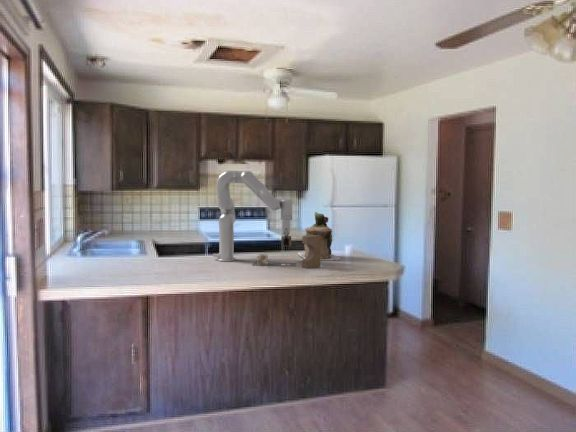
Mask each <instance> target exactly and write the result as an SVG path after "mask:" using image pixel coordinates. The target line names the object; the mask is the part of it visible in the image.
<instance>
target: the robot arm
mask: <svg viewBox="0 0 576 432" xmlns="http://www.w3.org/2000/svg"><path fill="white" fill-rule="evenodd" d="M230 184H244V185H245V186H246V188H248V189H250V191H251V192H252V193H253V194H254V195H255V196H256V197H257V198H259V200H261V202H263V204H264V205H266V207H268V209H270V210H271V211H275V212H276V211H278V210H280V220H281V221H282V222H281V235H282V236H284V245H289V239H288V236H289V235H290V232H291V221H293V200H292V199H290V198H276V197H275V196H274V195H273V194H272V193H271V192H270V191H269V190H268V189H267V187H266V185H265V184H264V183H263V182H261V180H259V178H257V177H256V176H255V175H254V173H253V172H252V171H251V170H226V171H224V172H222V173H221V174H220V175H219V176H218V178H217V180H216V194H217V207H218V208H219V210H220V216H219V219H218V231H219V232H218V235H219V241H218V242H219V245H218V246H219V247H218V248H219V250H218V251H219V252H218V253H212V257H213V258H216V260H217V261H219V262H233V261H236V260H237V257H235V256H234V253H235V252H234V249H235V248H234V245H235V243H234V235H235V234H234V230H235V229H234V223H236V211H235V204H234V200H233V199H232V198H231V191H230Z"/></svg>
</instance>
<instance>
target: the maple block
mask: <svg viewBox="0 0 576 432" xmlns="http://www.w3.org/2000/svg"><path fill="white" fill-rule="evenodd" d="M268 261H269V254H268V253H267V254H266V253H258V254H257V255H256V263H257V265H268V263H269V262H268Z"/></svg>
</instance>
